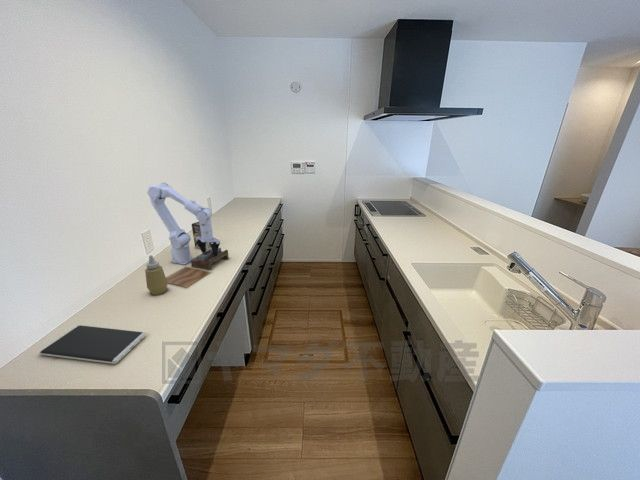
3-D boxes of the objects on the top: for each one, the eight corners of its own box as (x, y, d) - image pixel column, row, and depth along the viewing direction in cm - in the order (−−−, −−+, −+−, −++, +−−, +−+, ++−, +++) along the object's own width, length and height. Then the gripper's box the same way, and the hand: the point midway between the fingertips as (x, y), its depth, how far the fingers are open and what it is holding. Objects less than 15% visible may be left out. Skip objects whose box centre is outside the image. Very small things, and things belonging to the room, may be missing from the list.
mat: (160, 281, 128) (160, 280, 128) (186, 267, 142) (185, 266, 142) (186, 287, 123) (186, 287, 123) (210, 272, 137) (210, 272, 137)
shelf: (191, 266, 143) (190, 257, 141) (212, 255, 158) (210, 246, 155) (209, 270, 140) (208, 260, 138) (228, 258, 154) (227, 249, 152)
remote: (204, 261, 140) (203, 256, 139) (197, 260, 142) (196, 255, 141) (221, 251, 153) (220, 247, 152) (215, 250, 154) (214, 246, 153)
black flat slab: (115, 365, 81) (114, 361, 80) (39, 355, 84) (37, 351, 83) (147, 335, 93) (146, 331, 93) (79, 328, 96) (77, 324, 95)
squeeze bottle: (173, 288, 122) (165, 253, 116) (157, 298, 115) (149, 261, 109) (159, 285, 125) (152, 250, 118) (144, 294, 117) (135, 258, 111)
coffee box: (194, 247, 167) (190, 223, 161) (202, 244, 173) (198, 221, 167) (205, 250, 164) (202, 225, 158) (213, 246, 170) (210, 223, 164)
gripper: (190, 231, 140) (194, 254, 145) (212, 235, 136) (215, 258, 141) (199, 227, 147) (203, 249, 152) (221, 230, 142) (224, 253, 147)
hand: (209, 253), depth 147 cm, fingers open, 7 cm apart
